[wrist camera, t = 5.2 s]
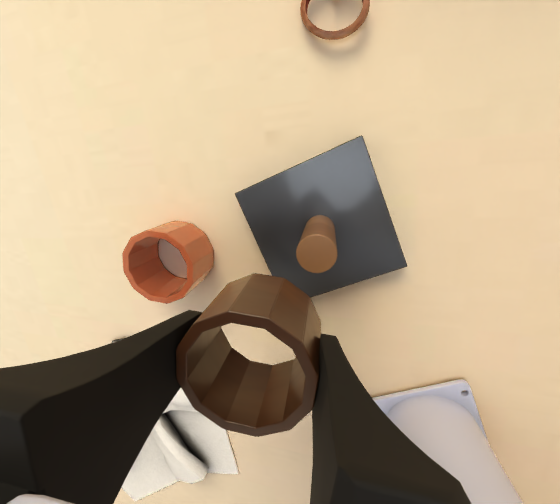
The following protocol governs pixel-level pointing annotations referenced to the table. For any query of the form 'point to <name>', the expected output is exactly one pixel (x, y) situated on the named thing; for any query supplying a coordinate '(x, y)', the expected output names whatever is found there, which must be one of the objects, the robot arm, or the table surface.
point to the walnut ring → (247, 374)
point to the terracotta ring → (150, 271)
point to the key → (334, 34)
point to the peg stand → (324, 221)
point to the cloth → (179, 450)
